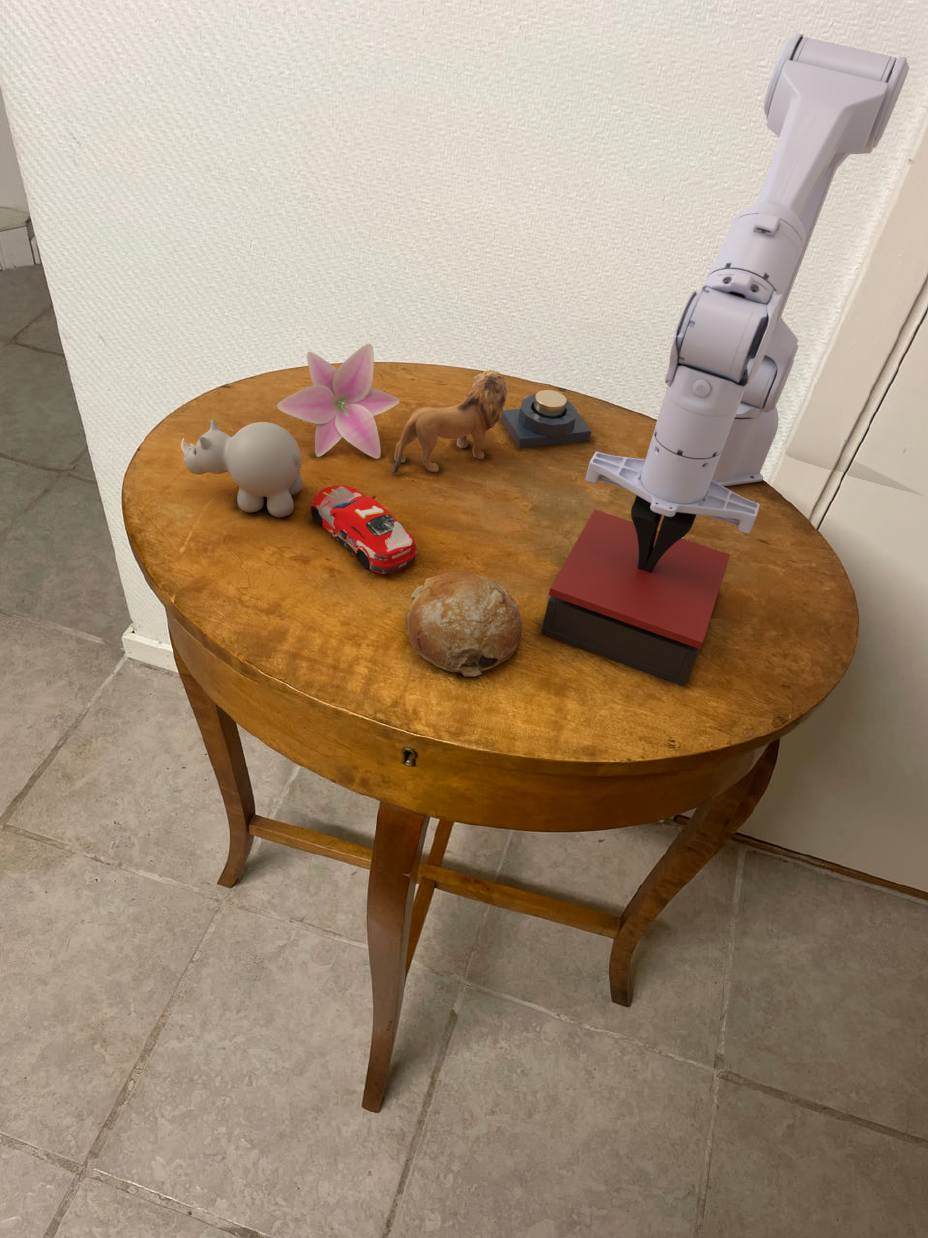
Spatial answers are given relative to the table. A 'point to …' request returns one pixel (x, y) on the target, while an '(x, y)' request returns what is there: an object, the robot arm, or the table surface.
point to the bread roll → (463, 622)
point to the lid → (642, 580)
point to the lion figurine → (456, 420)
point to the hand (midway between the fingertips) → (646, 564)
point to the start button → (549, 404)
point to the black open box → (618, 641)
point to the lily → (341, 402)
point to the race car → (364, 528)
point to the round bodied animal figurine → (251, 464)
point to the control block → (544, 426)
